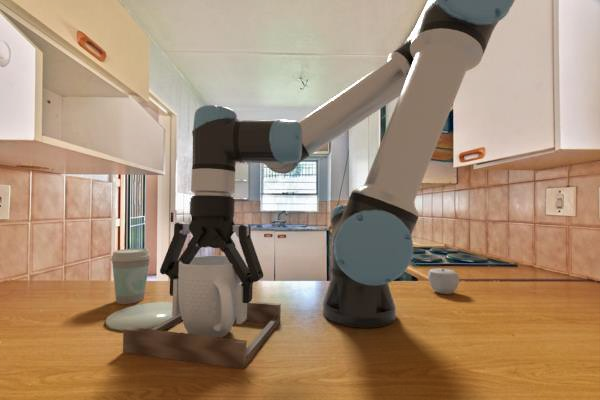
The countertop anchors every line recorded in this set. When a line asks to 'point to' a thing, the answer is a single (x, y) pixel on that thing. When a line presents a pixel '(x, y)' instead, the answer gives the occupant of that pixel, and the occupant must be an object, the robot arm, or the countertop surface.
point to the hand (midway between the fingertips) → (209, 317)
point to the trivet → (140, 316)
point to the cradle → (202, 340)
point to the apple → (443, 280)
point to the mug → (208, 295)
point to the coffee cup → (130, 274)
